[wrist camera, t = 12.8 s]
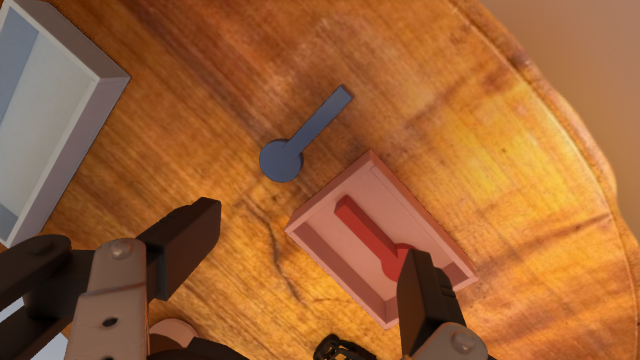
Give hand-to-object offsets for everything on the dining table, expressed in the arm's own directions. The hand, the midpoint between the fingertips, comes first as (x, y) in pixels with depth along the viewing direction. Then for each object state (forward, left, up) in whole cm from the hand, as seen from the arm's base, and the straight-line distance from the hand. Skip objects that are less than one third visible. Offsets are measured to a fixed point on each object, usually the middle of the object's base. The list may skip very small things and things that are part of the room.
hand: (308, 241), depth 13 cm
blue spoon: (0, -3, -16) cm, 16 cm away
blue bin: (+7, -31, -16) cm, 36 cm away
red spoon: (+8, +5, -15) cm, 18 cm away
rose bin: (+8, +6, -16) cm, 19 cm away
